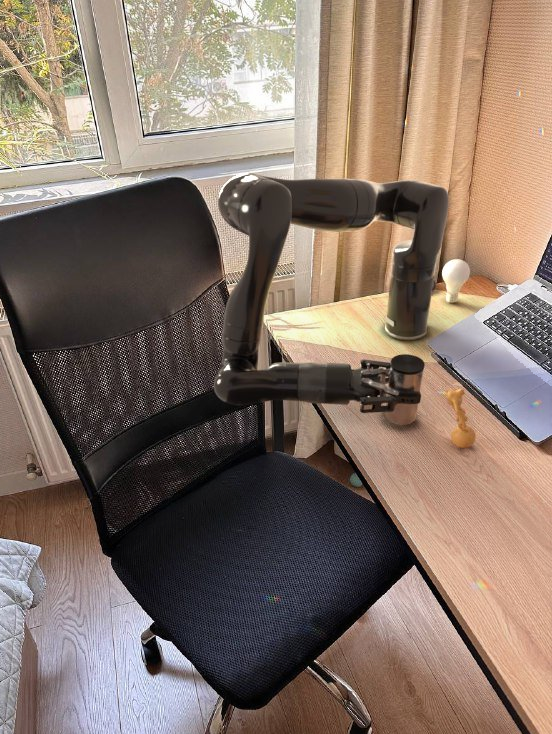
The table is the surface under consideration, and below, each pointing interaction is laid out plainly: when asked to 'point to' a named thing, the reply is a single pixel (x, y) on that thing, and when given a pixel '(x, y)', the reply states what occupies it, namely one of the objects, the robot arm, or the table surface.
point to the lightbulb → (455, 277)
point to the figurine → (462, 433)
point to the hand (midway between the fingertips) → (418, 387)
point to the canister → (405, 385)
